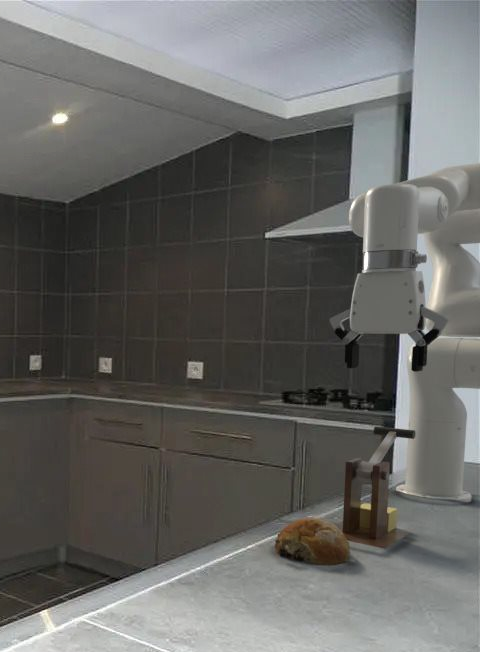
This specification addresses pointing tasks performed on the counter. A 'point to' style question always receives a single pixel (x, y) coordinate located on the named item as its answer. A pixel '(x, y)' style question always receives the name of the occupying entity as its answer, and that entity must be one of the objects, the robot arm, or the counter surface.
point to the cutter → (378, 508)
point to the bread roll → (313, 542)
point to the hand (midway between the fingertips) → (383, 369)
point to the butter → (366, 511)
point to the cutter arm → (381, 451)
